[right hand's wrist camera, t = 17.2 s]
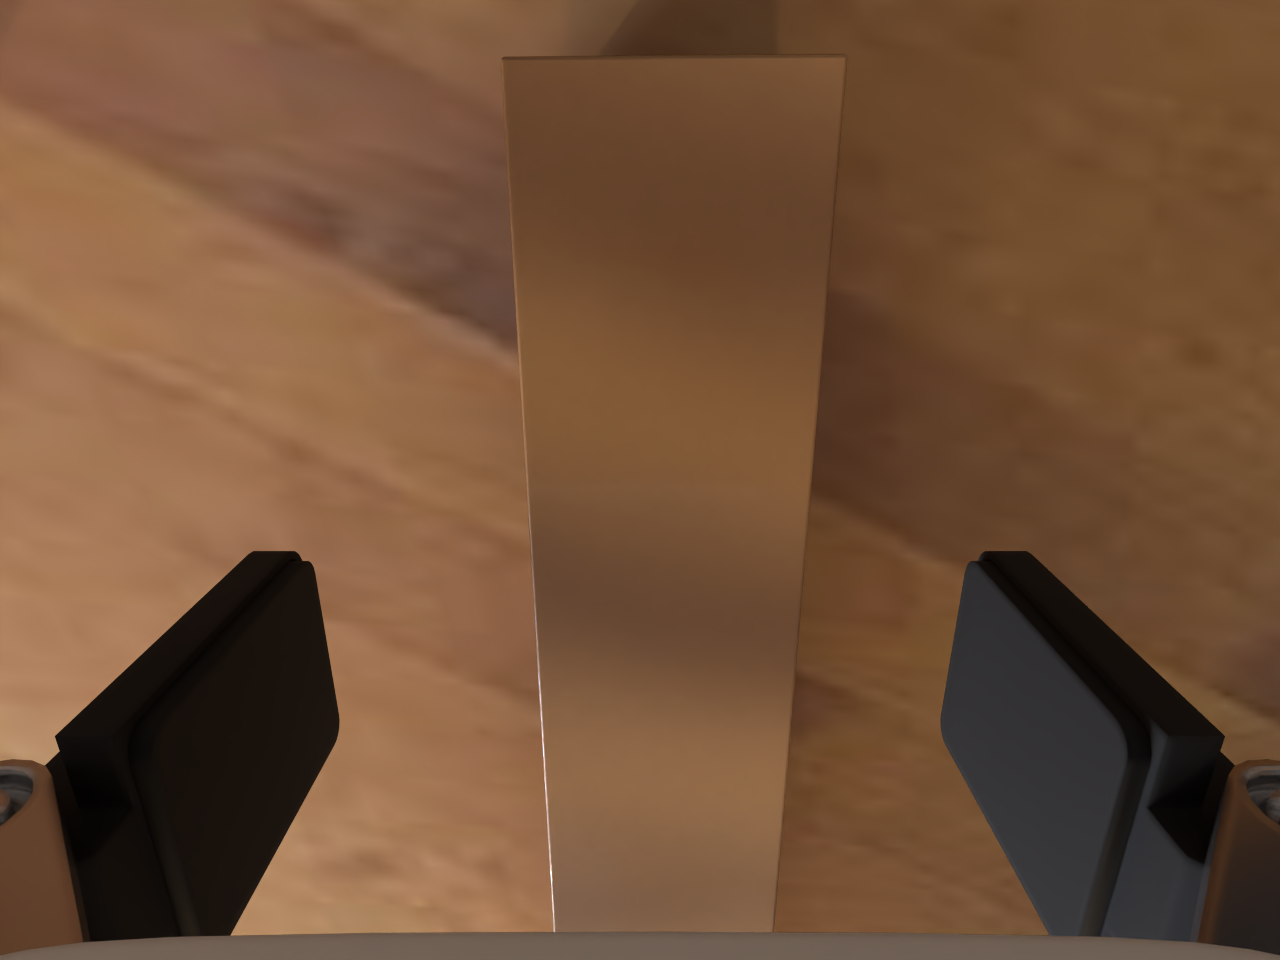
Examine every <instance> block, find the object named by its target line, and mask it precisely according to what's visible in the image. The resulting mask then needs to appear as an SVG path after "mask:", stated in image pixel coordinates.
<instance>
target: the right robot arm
mask: <svg viewBox="0 0 1280 960" xmlns="http://www.w3.org/2000/svg"><path fill="white" fill-rule="evenodd" d="M338 732H339V713H338V707H337V701H336V695H335V689H334V683H333V677H332V671H331V665H330V659H329V653H328V647H327V641H326V635H325V629H324V623H323V617H322V611H321V605H320V599H319V593H318V587H317V581H316V576H315V571H314V567H313V565H312V563H310V562H309V561H302V559H301V557H300V555H299V554H298V553H297V552H295V551H253V552H251V553H250V554H248V555H247V556H246V557H245V558H244V559H243V560H242V561H241V562H240V563H239V564H238V565H237V566H236V567H234V568H233V569H232V570H231V571H230V572H229V573H228V574H227V575H226V576H225V577H224V578H223V579H222V580H221V581H220V582H219V583H217V584H216V585H215V586H214V587H213V588H212V589H211V590H210V591H209V592H208V593H207V594H206V595H205V596H204V597H203V598H201V599H200V600H199V601H198V602H197V603H196V604H195V605H194V606H193V607H192V608H191V609H190V610H189V611H188V612H187V613H186V614H184V615H183V616H182V617H181V618H180V619H179V620H178V621H177V622H176V623H175V624H174V625H173V626H172V627H171V628H170V629H169V630H167V631H166V632H165V633H164V634H163V635H162V636H161V637H160V638H159V639H158V640H157V641H156V642H155V643H154V644H153V645H151V646H150V647H149V648H148V649H147V650H146V651H145V652H144V653H143V654H142V655H141V656H140V657H139V658H138V659H137V660H136V661H134V662H133V663H132V664H131V665H130V666H129V667H128V668H127V669H126V670H125V671H124V672H123V673H122V674H121V675H120V676H118V677H117V678H116V679H115V680H114V681H113V682H112V683H111V684H110V685H109V686H108V687H107V688H106V689H105V690H104V691H103V692H101V693H100V694H99V695H98V696H97V697H96V698H95V699H94V700H93V701H92V702H91V703H90V704H89V705H88V706H87V707H86V708H84V709H83V710H82V711H81V712H80V713H79V714H78V715H77V716H76V717H75V718H74V719H73V720H72V721H71V722H70V723H68V724H67V725H66V726H65V727H64V728H63V729H62V730H61V731H60V732H59V733H58V734H57V735H56V736H55V738H56V741H57V744H58V747H59V750H60V752H59V753H58V754H57V755H56V756H54V757H53V758H52V759H51V760H50V761H49V762H48V763H47V764H46V765H45V766H44V765H42V764H39V763H37V762H35V761H32V760H16V759H11V760H4V761H0V960H1280V761H1276V760H1269V759H1264V760H1248V761H1245V762H1243V763H1241V764H1238V765H1236V766H1235V765H1234V764H1233V763H1232V762H1231V761H1230V760H1229V759H1228V758H1227V757H1226V756H1224V755H1223V754H1222V753H1221V752H1220V750H1221V747H1222V744H1223V741H1224V738H1225V736H1224V735H1223V734H1222V733H1221V732H1220V731H1219V730H1218V729H1217V728H1216V727H1215V726H1214V725H1213V724H1212V723H1210V722H1209V721H1208V720H1207V719H1206V718H1205V717H1204V716H1203V715H1202V714H1201V713H1200V712H1199V711H1198V710H1197V709H1196V708H1194V707H1193V706H1192V705H1191V704H1190V703H1189V702H1188V701H1187V700H1186V699H1185V698H1184V697H1183V696H1182V695H1181V694H1180V693H1179V692H1177V691H1176V690H1175V689H1174V688H1173V687H1172V686H1171V685H1170V684H1169V683H1168V682H1167V681H1166V680H1165V679H1164V678H1163V677H1162V676H1160V675H1159V674H1158V673H1157V672H1156V671H1155V670H1154V669H1153V668H1152V667H1151V666H1150V665H1149V664H1148V663H1147V662H1146V661H1144V660H1143V659H1142V658H1141V657H1140V656H1139V655H1138V654H1137V653H1136V652H1135V651H1134V650H1133V649H1132V648H1131V647H1130V646H1129V645H1127V644H1126V643H1125V642H1124V641H1123V640H1122V639H1121V638H1120V637H1119V636H1118V635H1117V634H1116V633H1115V632H1114V631H1113V630H1111V629H1110V628H1109V627H1108V626H1107V625H1106V624H1105V623H1104V622H1103V621H1102V620H1101V619H1100V618H1099V617H1098V616H1097V615H1096V614H1094V613H1093V612H1092V611H1091V610H1090V609H1089V608H1088V607H1087V606H1086V605H1085V604H1084V603H1083V602H1082V601H1081V600H1080V599H1079V598H1077V597H1076V596H1075V595H1074V594H1073V593H1072V592H1071V591H1070V590H1069V589H1068V588H1067V587H1066V586H1065V585H1064V584H1063V583H1061V582H1060V581H1059V580H1058V579H1057V578H1056V577H1055V576H1054V575H1053V574H1052V573H1051V572H1050V571H1049V570H1048V569H1047V568H1046V567H1044V566H1043V565H1042V564H1041V563H1040V562H1039V561H1038V560H1037V559H1036V558H1035V557H1034V556H1033V555H1032V554H1030V553H1029V552H1027V551H985V552H983V553H982V554H981V555H980V557H979V559H978V561H971V562H970V563H968V565H967V567H966V571H965V575H964V581H963V587H962V593H961V599H960V605H959V611H958V617H957V623H956V629H955V635H954V641H953V647H952V653H951V659H950V665H949V671H948V677H947V683H946V689H945V695H944V701H943V707H942V713H941V732H942V736H943V740H944V742H945V745H946V747H947V748H948V750H949V752H950V754H951V756H952V758H953V759H954V761H955V763H956V765H957V767H958V769H959V770H960V772H961V774H962V776H963V778H964V780H965V781H966V783H967V785H968V787H969V789H970V790H971V792H972V794H973V796H974V798H975V800H976V801H977V803H978V805H979V807H980V809H981V811H982V812H983V814H984V816H985V818H986V820H987V822H988V823H989V825H990V827H991V829H992V831H993V833H994V834H995V836H996V838H997V840H998V842H999V843H1000V845H1001V847H1002V849H1003V851H1004V853H1005V854H1006V856H1007V858H1008V860H1009V862H1010V864H1011V865H1012V867H1013V869H1014V871H1015V873H1016V875H1017V876H1018V878H1019V880H1020V882H1021V884H1022V886H1023V887H1024V889H1025V891H1026V893H1027V895H1028V896H1029V898H1030V900H1031V902H1032V904H1033V906H1034V907H1035V909H1036V911H1037V913H1038V915H1039V917H1040V918H1041V920H1042V922H1043V924H1044V926H1045V928H1046V929H1047V931H1048V933H1049V935H1050V936H1036V935H986V934H936V933H826V932H454V933H344V934H294V935H244V936H230V935H231V933H232V931H233V929H234V928H235V926H236V924H237V922H238V920H239V918H240V917H241V915H242V913H243V911H244V909H245V907H246V906H247V904H248V902H249V900H250V898H251V896H252V895H253V893H254V891H255V889H256V887H257V886H258V884H259V882H260V880H261V878H262V876H263V875H264V873H265V871H266V869H267V867H268V865H269V864H270V862H271V860H272V858H273V856H274V854H275V853H276V851H277V849H278V847H279V845H280V843H281V842H282V840H283V838H284V836H285V834H286V832H287V831H288V829H289V827H290V825H291V823H292V822H293V820H294V818H295V816H296V814H297V812H298V811H299V809H300V807H301V805H302V803H303V801H304V800H305V798H306V796H307V794H308V792H309V790H310V789H311V787H312V785H313V783H314V781H315V779H316V778H317V776H318V774H319V772H320V770H321V769H322V767H323V765H324V763H325V761H326V759H327V758H328V756H329V754H330V752H331V750H332V748H333V747H334V745H335V742H336V740H337V736H338Z"/></svg>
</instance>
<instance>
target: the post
mask: <svg viewBox="0 0 1280 960" xmlns="http://www.w3.org/2000/svg"><path fill="white" fill-rule="evenodd" d="M846 68H847V56H846V55H845V54H770V55H649V56H528V57H503V58H502V59H501V74H502V90H503V107H504V123H505V140H506V156H507V173H508V189H509V205H510V222H511V238H512V255H513V271H514V287H515V304H516V320H517V337H518V353H519V369H520V386H521V402H522V419H523V435H524V452H525V468H526V484H527V501H528V517H529V534H530V550H531V566H532V583H533V599H534V616H535V632H536V648H537V665H538V681H539V698H540V714H541V731H542V747H543V763H544V780H545V796H546V813H547V829H548V845H549V862H550V878H551V895H552V911H553V928H554V932H774V924H775V912H776V900H777V888H778V877H779V865H780V853H781V841H782V829H783V817H784V805H785V793H786V781H787V770H788V758H789V746H790V734H791V722H792V710H793V698H794V686H795V675H796V663H797V651H798V639H799V627H800V615H801V603H802V591H803V579H804V568H805V556H806V544H807V532H808V520H809V508H810V496H811V484H812V472H813V461H814V449H815V437H816V425H817V413H818V401H819V389H820V377H821V365H822V354H823V342H824V330H825V318H826V306H827V294H828V282H829V270H830V258H831V247H832V235H833V223H834V211H835V199H836V187H837V175H838V163H839V151H840V140H841V128H842V116H843V104H844V92H845V80H846Z"/></svg>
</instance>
